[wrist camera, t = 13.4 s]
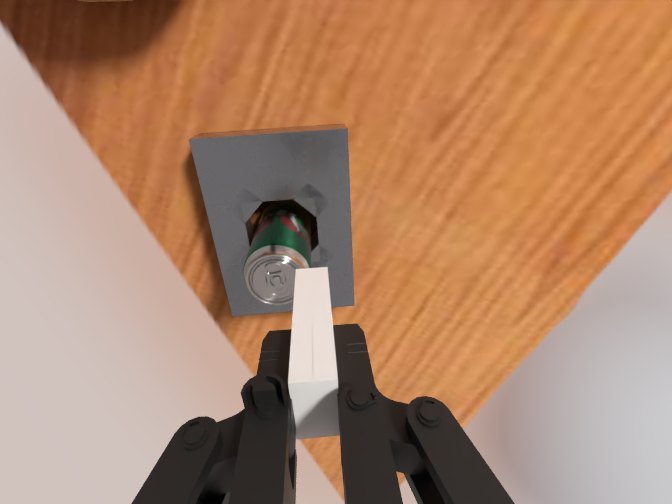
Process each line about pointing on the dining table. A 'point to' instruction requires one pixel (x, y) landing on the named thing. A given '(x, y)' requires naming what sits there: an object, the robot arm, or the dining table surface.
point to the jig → (277, 184)
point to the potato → (101, 0)
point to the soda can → (278, 252)
